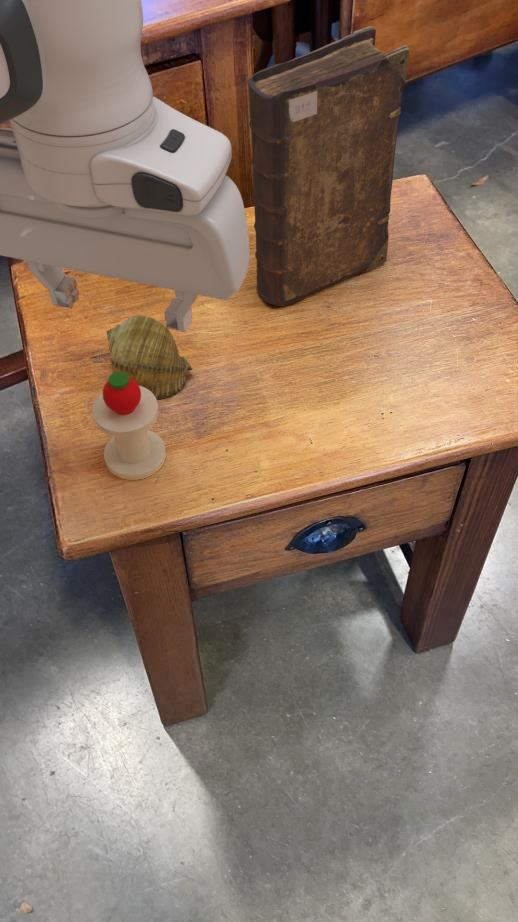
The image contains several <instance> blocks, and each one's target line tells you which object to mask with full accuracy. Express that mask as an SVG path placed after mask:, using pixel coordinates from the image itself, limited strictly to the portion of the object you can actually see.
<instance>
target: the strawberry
mask: <svg viewBox="0 0 518 922" xmlns="http://www.w3.org/2000/svg"><path fill="white" fill-rule="evenodd" d="M102 392H103V399H104V402H105V404H106V405H107V406H108V407H109V408H110V409H111V410H112V411H114V412H116V413H117V414H120V415H128V414H130V413H132V412H133V411H134V410H135V408H136V407H137V406H138V404H139V402H140V399H141V390H140V387H139V385H138V384H137V382H136V381H135V380H134V379H132V378H131V377H129V376H128V375H127V374H126V373H124V372H115V373H114V372H112V373H111V374H110V375H109V376H108V378H107V381H106V382H105V384H104V386H103V388H102Z"/></svg>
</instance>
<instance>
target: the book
mask: <svg viewBox="0 0 518 922" xmlns="http://www.w3.org/2000/svg"><path fill="white" fill-rule="evenodd" d="M376 34H377V29H376V28H375V27H374V26H373V25H369V26H367V27H363V28H359V29H357V30H355V31H353V32H352V33H350V34H348V35H345V36H343V37H341V38H339V39H338V40H335V41H333V42H330V43H328V44H326V45H324V46H321V47H319V48H317V49H315V50H313V51H311V52H308V53H305V54H303V55H300V56H298V57H295V58H293V59H290V60H287V61H285V62H282V63H281V62H280V63H277V64H273V65H271V66H268V67H266V68H263V69H261V70H259V71H257V72H256V73H254V74H253V75H252V76H251V77H249V79H248V81H247V89H248V102H249V103H248V105H249V123H248V126H249V128H250V131H251V155H252V156H251V159H250V162H251V166H252V181H253V182H252V183H253V191H252V198H253V203H254V204H253V205H254V224H253V228H254V232H255V252H254V257H255V259H256V291H257V293H258V294H259V296H260V297H261V298H262V299H263V300H264V301H265V302H266V303H268V304H269V305H273V306H276V307H279V306H283V307H285V306H288V305H291V304H294V303H297V302H298V301H302V300H305V299H306V298H307V297H308V296H310V295H312V294H315V293H317V292H319V291H321V290H324V289H326V288H329V287H330V286H333V285H334V284H336V283H339V282H342V281H344V280H346V279H348V278H350V277H353V276H358V275H361V274H363V273H366V272H369V271H371V270H373V269H375V268H377V267H379V266H382V265H383V264H385V263H386V262H388V261H387V260H388V248H389V237H390V236H389V235H390V234H389V220H390V214H391V202H392V201H391V199H392V198H391V197H392V190H393V182H394V181H393V180H394V167H395V166H394V165H395V158H396V147H397V139H398V129H399V120H400V117H401V115H400V114H401V113H402V112H401V105H402V99H403V98H402V97H403V91H404V87H405V83H406V80H407V75H408V67H409V66H408V65H409V58H410V47H409V46H408V45H407V44H404V45H402V46H400V47H397V48H395V49H393V50H391V51H390V52H386V53H384V52H383V51H381V49H379V48H377V47H376Z"/></svg>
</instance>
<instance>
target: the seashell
mask: <svg viewBox="0 0 518 922" xmlns="http://www.w3.org/2000/svg"><path fill="white" fill-rule="evenodd" d="M106 336H107V341H108V351H109V353H110V362H111V368H112V369H111V370H112V373H115V372H124V373H126V374H127V375H128V376H129V377H131V378H132V379H134V380H135V381H136V382H137V384H138V385H139V386H142V387H144V388H146V389H148V390H149V391H151V392H152V393H153V394H154V396H155V397H156V399H157V400H163V399H165V398H169V397H172V396H173V395H176V394H178V393H179V392H180V393H181V391H182V388H183V387H184V384H185V382H186V380H187V372H188V371H193V367H192V365H191V364H190V362H189V361H188V359H186V358H185V357H183V356H181V355H180V353H179V349H178V346H177V343H176V341H175V339H174V336H173V335H172V333H171V331H170V329H168V328H167V327H166V325H165V324H163V323H162V322H160V321H159V320H157V319H156V318H154V317H151V316H147V315H141V314H139V315H133V316H130V317H128V318H126V319H124V320H123V321H122V323H121V324H118V325H115V326H113V328H110V329H109V330H107V331H106Z"/></svg>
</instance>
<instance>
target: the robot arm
mask: <svg viewBox="0 0 518 922" xmlns="http://www.w3.org/2000/svg"><path fill="white" fill-rule="evenodd" d="M142 3H143V2H142V0H0V124H3V123H5V122H8V121H9V122H10V126H11V128H9V127H0V256H1V257H2V256H3V257H6V258H11V259H12V258H13V259H16V260H22V261H25V262H26V266H27V269H28V271H30V272H31V274H32V275H33V276H34V277H35V278H36V279H37V281H39V282H40V283H41V285H43V286H44V288H45V289H47V291H48V295H49V297H50V302H51V304H52V305H53V306H56V307H62V308H67V309H73V307H74V303H77V301H78V299H79V296H80V293H79V292H80V291H79V288H78V287H77V286H78V284H77V279H76V277H72V276H67V275H66V274H65V273H64V271H63V270H62V269H61V268H63V269H66V270H73V271H77V272H82V273H86V274H90V275H91V274H92V275H96V276H101V277H106V278H107V277H108V278H111V279H116V280H121V281H127V282H131V283H137V284H142V285H146V286H152V287H157V288H161V289H167V290H171V291H174V294H175V295H174V296H175V298H174V297H173V298H171V300H170V302H169V306H167V307H166V308H165V311H164V314H163V315H164V320H165V322H166V323H165V327H166V328H167V329H168V330H173V331H177V332H180V333H181V332H182V333H187V331H188V330H189V327H190V326H191V324H192V322H193V309H192V306H193V305H194V303H195V301H196V300H197V297H198V296H203V297H207V298H210V299H211V298H212V299H215V300H220V301H221V300H222V301H226V300H229V299H230V298H231V297H233V296H234V295H235V294H236V293H237V292H238V291H239V290H240V288H241V287H242V285H243V283H244V281H245V279H246V277H247V274H248V272H249V270H250V265H251V247H250V236H249V227H248V221H247V215H246V210H245V206H244V201H243V197H242V195H241V191H240V190H239V188H238V186H237V185H236V183H235V182H234V181H233V179H232V178H230V176H228V175H227V173H228V170H229V167H230V164H231V162H232V157H233V156H232V155H233V149H232V148H233V147H232V143H231V141H230V139H229V137H227V136H226V135H225V134H224V133H222V132H220V131H219V130H216V129H214V128H212V127H211V126H209V125H206V124H204V123H201V122H199V121H198V120H196V119H193V118H192V117H189V116H188V115H186V114H184V113H182V112H180V111H178V110H177V109H175V108H173V107H172V106H170V105H169V104H167V103H165V102H163V101H162V100H161V99H159V98H158V97H155V96H154V93H153V86H152V82H151V79H150V77H149V73H148V71H147V69H146V67H145V64H144V61H143V57H142V51H141V49H142V47H141V46H142V45H141V42H142V41H141V40H142V34H143V26H144V13H143V4H142Z"/></svg>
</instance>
